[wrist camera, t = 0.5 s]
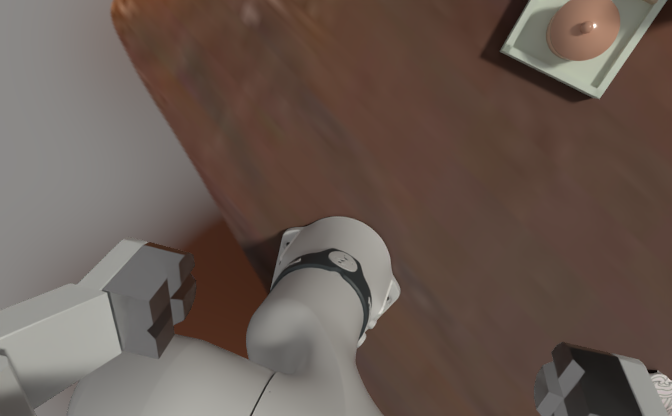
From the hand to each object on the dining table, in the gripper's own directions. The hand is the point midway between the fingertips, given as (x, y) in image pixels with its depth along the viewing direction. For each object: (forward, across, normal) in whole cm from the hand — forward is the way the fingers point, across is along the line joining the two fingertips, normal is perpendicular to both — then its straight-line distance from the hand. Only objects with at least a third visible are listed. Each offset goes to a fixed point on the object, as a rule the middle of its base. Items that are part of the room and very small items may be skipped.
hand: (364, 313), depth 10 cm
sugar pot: (+48, +17, -1) cm, 51 cm away
